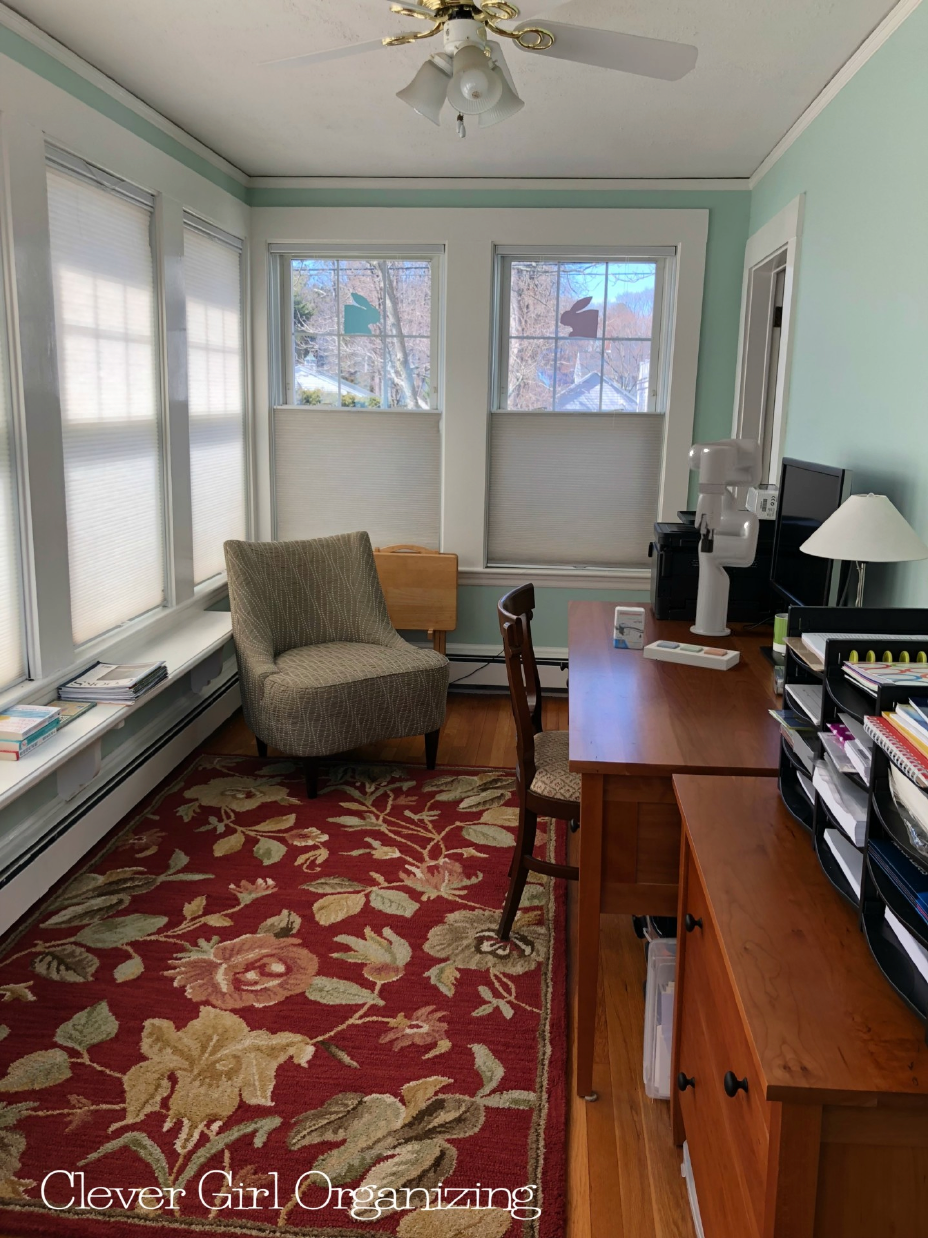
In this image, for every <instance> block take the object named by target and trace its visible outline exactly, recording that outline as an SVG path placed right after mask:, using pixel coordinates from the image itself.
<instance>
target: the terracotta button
mask: <svg viewBox="0 0 928 1238" xmlns="http://www.w3.org/2000/svg"><path fill="white" fill-rule="evenodd" d="M713 648H714V647H710V648H709V649H708V650H706V651H704V654H709V655H715V656H722V657H723V656H724V655H726V654H727V651H726V650H727V649H723V650H719V649H720V648H716V649H713Z"/></svg>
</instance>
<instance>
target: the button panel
mask: <svg viewBox="0 0 928 1238" xmlns="http://www.w3.org/2000/svg"><path fill="white" fill-rule="evenodd" d="M663 641H665V642H670V641H669V640H662V639H659V640H657V641H654V642H652V643H650V644H647V645H646V646H644V647H643V656H642V657H643V658H646V659H651V660H656V659H657V660H658V661H663V662H669V663H677V664H683V665H687V666H688V665H689V666H690V665H691V666H694V667H703V668H707V669H713V670H720V671H727V670H728V669H731V668H732V667H734V666H735V665H736V664H738V663H739V661H740V654H741V652H740V651H735V650H728V649H725V650H726V651H727V654H726V655H724V656H723V657H722V656H715V655H709V654H704V651H706V650H708V649H709V648H711V646H710V647H709V646H702V645H698V646H699V647H703V650H702V651H701V652H699V653H695V652H689V651H682V650H680V648H681V647H683V646H685V645H690V644H689V643H681V642H678V643H679V644H680V646H679V647H678V648H676V649H669V648H662V647H657V644H658V643H661V642H663ZM671 642H672V643H677V642H676V641H671ZM691 645H692V646H697V645H695V644H691ZM712 648H713V649H717V648H715V647H712ZM718 649H719V650H724V649H723V648H718ZM657 660H656V661H657Z"/></svg>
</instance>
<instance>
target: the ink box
mask: <svg viewBox="0 0 928 1238" xmlns="http://www.w3.org/2000/svg"><path fill="white" fill-rule="evenodd" d="M614 613H615V614H614V625H613V627H614V628H613V643H612V645H613V647H614V648H615V649H616V648H619V649H636V650H643V649H644V647H643V645H644V632H645V621H646V620H645V619H646V610H645V609H644V607H633V606H616V607H615V610H614Z"/></svg>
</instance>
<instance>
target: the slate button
mask: <svg viewBox="0 0 928 1238" xmlns="http://www.w3.org/2000/svg"><path fill="white" fill-rule="evenodd" d="M662 641H663V642H661V643H658V644H657V647H662V648H669V649H676V648H678V647H679V646H680V644H679V643H680V642H676V643H672V642H673V641H669V642H665V641H666V640H662Z"/></svg>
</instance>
